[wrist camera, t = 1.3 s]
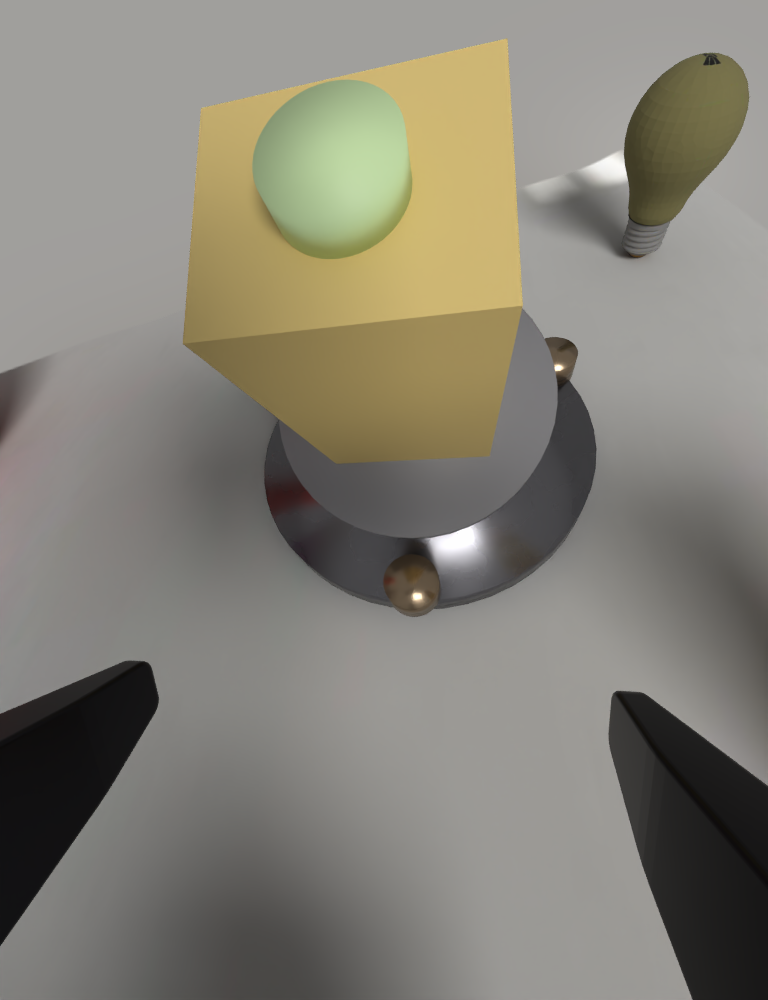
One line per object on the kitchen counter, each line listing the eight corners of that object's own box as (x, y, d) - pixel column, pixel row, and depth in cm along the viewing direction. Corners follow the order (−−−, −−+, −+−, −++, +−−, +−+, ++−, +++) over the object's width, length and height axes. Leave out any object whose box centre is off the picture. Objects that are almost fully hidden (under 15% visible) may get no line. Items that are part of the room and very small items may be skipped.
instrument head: (561, 537, 18) (779, 473, 6) (284, 540, 21) (-4, 502, 8) (543, 270, 20) (674, -225, 8) (292, 301, 23) (72, -34, 10)
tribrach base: (624, 629, 18) (654, 608, 15) (242, 620, 22) (206, 601, 19) (563, 333, 27) (575, 283, 24) (300, 359, 30) (281, 318, 27)
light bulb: (703, 259, 28) (806, 50, 19) (626, 289, 28) (694, 92, 19) (649, 221, 31) (718, 23, 22) (579, 248, 31) (621, 61, 22)
